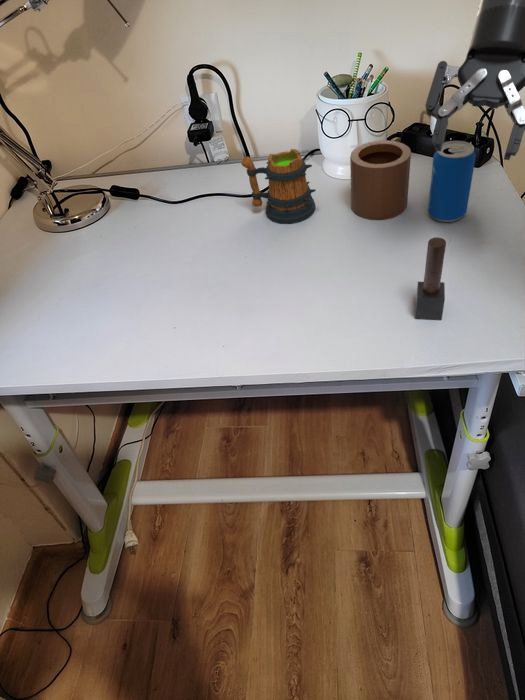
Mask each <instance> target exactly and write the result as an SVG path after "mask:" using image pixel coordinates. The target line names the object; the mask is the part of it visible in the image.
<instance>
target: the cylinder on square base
mask: <svg viewBox="0 0 525 700" xmlns="http://www.w3.org/2000/svg"><path fill="white" fill-rule="evenodd" d="M446 247H447V241H446V239H445V238H442V237H437V236H436V237H431V238H430V239H428V241H427V248H426V249H427V250H426V257H425V265H424V266H425V267H424V277H423V281H417V284H416V285H417V286H416V287H417V288H416V296H415V313H414V319H415V320H430V321H442V319H443V314H444V306H445V300H446V294H445V293H446V292H445V291H446V290H445V289H446V287H445V282H443V281H442V273H443V267H444V260H445V253H446Z"/></svg>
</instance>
